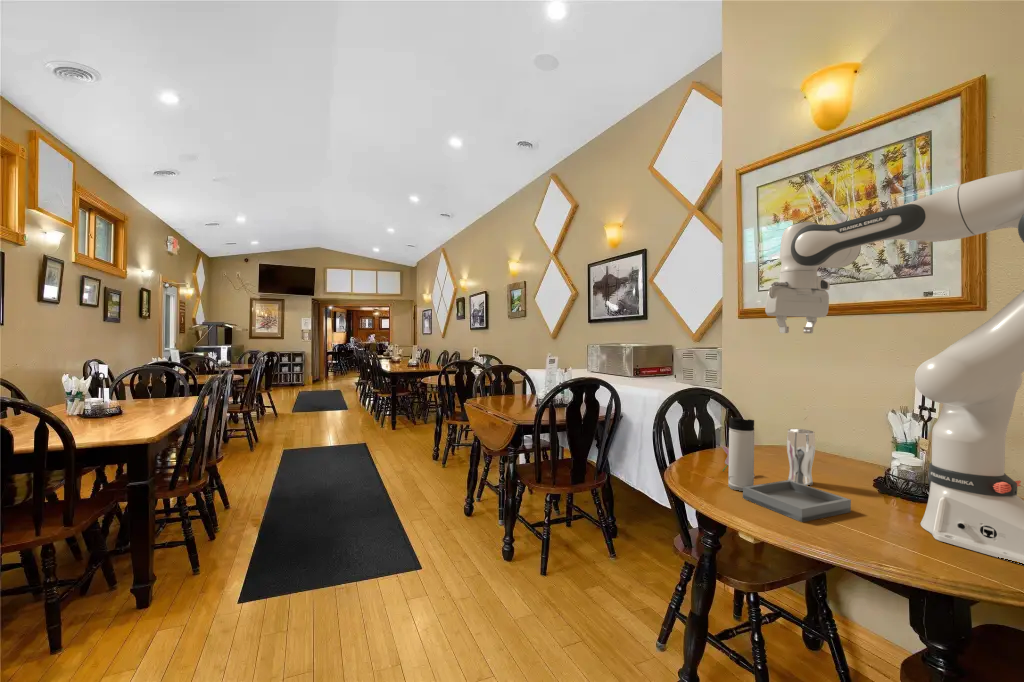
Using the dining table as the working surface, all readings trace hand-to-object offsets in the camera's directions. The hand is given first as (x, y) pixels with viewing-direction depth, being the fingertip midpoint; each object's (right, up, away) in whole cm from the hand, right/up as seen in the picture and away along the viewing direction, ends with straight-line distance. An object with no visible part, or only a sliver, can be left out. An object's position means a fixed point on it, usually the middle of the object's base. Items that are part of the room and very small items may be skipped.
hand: (796, 333), depth 126 cm
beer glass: (+5, -43, +6) cm, 44 cm away
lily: (-10, -43, +13) cm, 46 cm away
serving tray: (-8, -43, -12) cm, 46 cm away
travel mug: (-15, -43, 0) cm, 46 cm away
